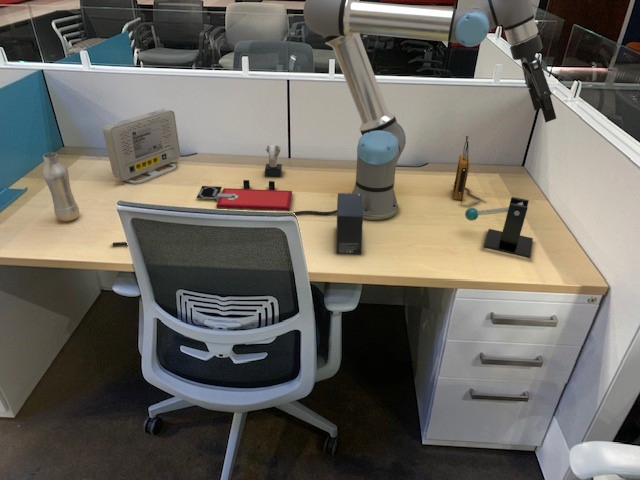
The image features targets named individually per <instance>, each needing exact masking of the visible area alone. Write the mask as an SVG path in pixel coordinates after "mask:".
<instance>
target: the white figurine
mask: <svg viewBox="0 0 640 480" xmlns="http://www.w3.org/2000/svg"><path fill="white" fill-rule="evenodd" d="M264 151H266V152H267V154H268V163H265V167H264V173H265V174H264V175H265V176H264V177H265V178H281V177H282V173H283V167H282V165H283V164H282V163H278V157H279V155H280V153H281V146H280V145H279V144H276V143H269V144H268V145H267V146H266V147H265V150H264Z"/></svg>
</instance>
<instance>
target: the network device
mask: <svg viewBox="0 0 640 480" xmlns="http://www.w3.org/2000/svg"><path fill="white" fill-rule="evenodd" d="M176 120H177V119H176V115H175V112H174V110H171V109H167V108H160V109H156V110H153V111H150V112H147V113H143V114H140V115H136V116H133V117H132V116H131V117H129V118H126V119H122V120H118V121H116V122H112V123H108V124H105V125H104V126H103V128H102V133H103V138H104V142H105V145H106V150H107V155H108V159H109V164H110V167H111V171H112V176H113V177H114V178H117V179H118V180H121V181H124V182H127V183H129V184H133V185H139V184H143V183H145V182H148V181H150V180H152V179H155V178H158V177H159V176H162V175H165V174H167V173H170V172H172V171H175V170H176V169H177V165H176V164H175V163H173V162H174V161H175V162H176V161H178V160H179V159H180V158H181V148H180V142H179V134H178V129H177V128H178V127H177V122H176ZM165 165H166V166H168V167H170V168H168V169H167V168H166V169H165V170H162V171H156V169H157V168H160V167H162V166H165ZM142 174H145V175H148V177H144V178H143V179H140V180H134V179H131V178H135V177H136V176H139V175H142Z"/></svg>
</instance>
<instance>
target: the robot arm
mask: <svg viewBox="0 0 640 480" xmlns="http://www.w3.org/2000/svg"><path fill="white" fill-rule="evenodd" d="M302 14H303V18H304V22H305V24H306V25H307V27H308V28H309V30H311V31H312V32H313V33H315V34H317V35H318V36H319V35H320V36H322V39H323V41H324V44H325V45H327V46H329V47H331V48H332V49H333V52H334V54H335V57H336V60H337V62H338V65H339V67H340V70H341V73H342V75H343V77H344V80H345V83H346V85H347V87H348V90H349V93H350V95H351V98H352V100H353V103H354V105H355V108H356V111H357V113H358V115H359V119H360V121H361V124H360V127H359V131H360V134H361V135H360V137H359V139H358V143H357V146H356V153H357V154H356V155H357V156H356V167H355V170H356V171H355V185H354V187H353V190H352V192H351V193H358V194H362V207H363V220H366V221H367V220H368V221H383V220H388V219H391V218H392V217H394V216H395V215H396V214H397V213H398V206H399V205H398V200H397V197H396V192H395V188H394V187H395V180H396V179H395V178H396V169H397V164H398V161H399V160H400V157H401V156H402V154H403V152H404V149H405V147H406V144H407V143H406V142H407V140H406V138H407V137H406V133H405V132H406V131H405V130H404V127H403V126H402V125H401V124H400V123H398V120H397V118H396V115H395V113H392V112H391V111H389V110H388V107H387V105H386V103H385V100H384V97H383V95H382V91H381V89H380V85H379V83H378V81H377V78H376V75H375V73H374V70H373V68H372V65H371V62H370V59H369V56H368V54H367V51H366V49H365V48H366V47H365V45H364V43H363V41H362V40H363V39H362V38H361V35H370V36H384V37H391V38H393V37H395V38H405V39H414V40H415V39H416V40H427V41H437V42H447V43H453V44H460V45H463V46H464V47H466V48H467V47H468V48H472V47H476V46H478V45H480V44H481V43H483V41H485V39H486V38H487V36H488V34H489V32H490V31H492V30H493V29H495V28H498V27H500V26H501V25H502V26H503V30H504V34H505V38H506V41H507V44H508V45H509V46H510V47H509V50H510V54H511V57H512V59H513V60H515V61H518V60H519V61H520V63H521V64H520V66H521V68H522V73H523V78H524V82H525V83H524V84H525V86H526V88H528V89H527V90H528V92H529V96H530V100H531V103H532V106H533V110H534V111H538V110H541V112H542V115H543V119H544V122H545V123H549V122H551V121H554V120H556V119H557V115H556V112H555V108H554V104H553V100H552V97H551V96H552V94H553V93H552V91H551V88H550V85H549V83H548V80H547V78H546V75H545V73H544V69H543V66H542V64H541V60H540V59H539V58H537V57H536V54H537V53H539V52H540V51H542V49H543V43H542V39H541V36H540V35H539V34H538V33H539V28H538V24H539V20H537V19H536V18H535V14H534V10H533V7H532V2H531V0H482V1H480V2H477V3H475V4H473V5H471V6H468V7H466V8H464V9H461V8H460V9H458V8H447V7H436V6H435V7H434V6H423V5H422V6H421V5H411V4H400V3H399V4H398V3H387V2H386V3H385V2H374V1H362V0H305V2H304V4H303V13H302ZM535 19H536V20H535ZM293 213H295V214H296V215H295V216H297V215H306V214H308V215H311V214H312V215H321V216H326V215H327V216H329V215H334V214H335V215H336V214H337V209H334V210H331V211H317V210H299V211H293ZM126 242H127V241H120V242H112V246H113V247H119V246H128V245H127V243H126Z"/></svg>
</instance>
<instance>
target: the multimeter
mask: <svg viewBox="0 0 640 480" xmlns="http://www.w3.org/2000/svg"><path fill="white" fill-rule="evenodd" d="M468 139H469V135H466V136H465V142H464V146H463V154H459V157H458V162H457V166H456V167H457V168H456V173H455V179H454V183H453V184H454V185H453V189H452V191H453V192H452V193H453V200H455V201H456V200H457V201H460V203H461V204H463V199H464V194H465V190H467V191H468V192H467V195H468V196H472V197H473V198H475V199H477V200H475V201H474V202H472V203H471V204H472V205H475V204H477V203H478V202H479V201H483V202H485V200H484V199H482V198H481V197H478V196H476V195H474V194H471V193H470V190H469V189H468V188H466V185H467V180H468V174H469V170H470V158H469V141H468Z"/></svg>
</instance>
